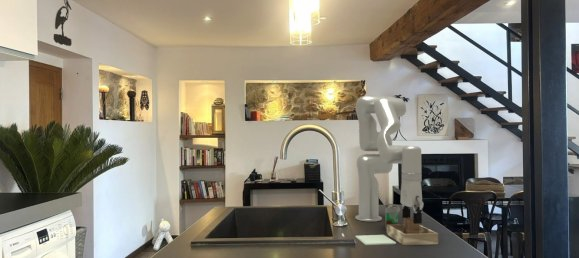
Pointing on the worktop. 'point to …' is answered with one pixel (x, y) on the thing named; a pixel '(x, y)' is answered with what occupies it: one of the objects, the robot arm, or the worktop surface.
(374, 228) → the worktop surface
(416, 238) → the access box
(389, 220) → the food container
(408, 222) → the walnut block
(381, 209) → the worktop surface
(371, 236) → the mat
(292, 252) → the worktop surface
